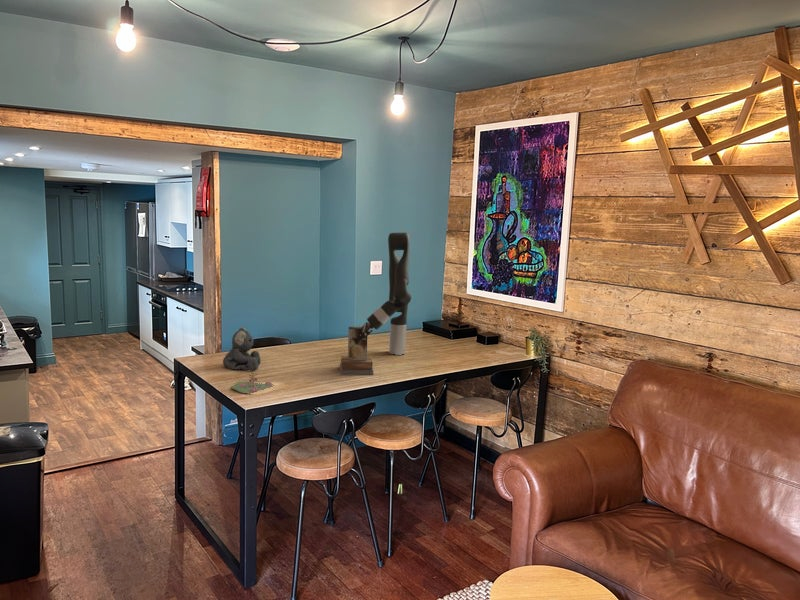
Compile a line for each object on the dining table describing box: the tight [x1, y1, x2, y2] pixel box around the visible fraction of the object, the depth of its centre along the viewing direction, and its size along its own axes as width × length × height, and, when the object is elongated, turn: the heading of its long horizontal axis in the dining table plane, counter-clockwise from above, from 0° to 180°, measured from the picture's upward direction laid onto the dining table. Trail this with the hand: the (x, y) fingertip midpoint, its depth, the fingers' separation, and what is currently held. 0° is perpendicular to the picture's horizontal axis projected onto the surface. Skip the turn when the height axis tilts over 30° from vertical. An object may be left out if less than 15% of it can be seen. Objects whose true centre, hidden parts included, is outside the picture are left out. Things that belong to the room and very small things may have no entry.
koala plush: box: [222, 326, 261, 371], centre depth 297 cm, size 17×18×20 cm
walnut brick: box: [340, 355, 374, 370], centre depth 301 cm, size 12×15×4 cm
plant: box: [230, 370, 274, 394], centre depth 266 cm, size 25×21×9 cm
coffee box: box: [347, 326, 368, 360], centre depth 300 cm, size 9×6×16 cm
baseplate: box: [339, 362, 374, 376], centre depth 301 cm, size 14×16×2 cm
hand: (354, 340), depth 299 cm, fingers open, 8 cm apart
